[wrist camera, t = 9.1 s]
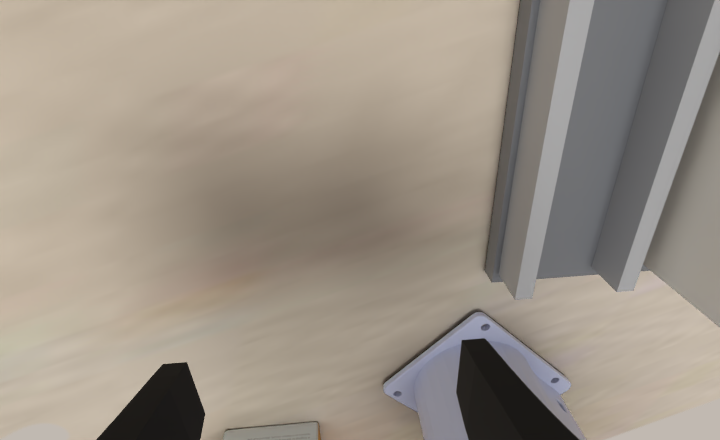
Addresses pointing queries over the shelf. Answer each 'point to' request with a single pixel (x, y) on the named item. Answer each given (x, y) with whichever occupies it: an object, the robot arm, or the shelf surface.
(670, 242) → the long beige block
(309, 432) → the small box
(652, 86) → the ridged grey tray
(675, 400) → the shelf surface
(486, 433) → the robot arm
